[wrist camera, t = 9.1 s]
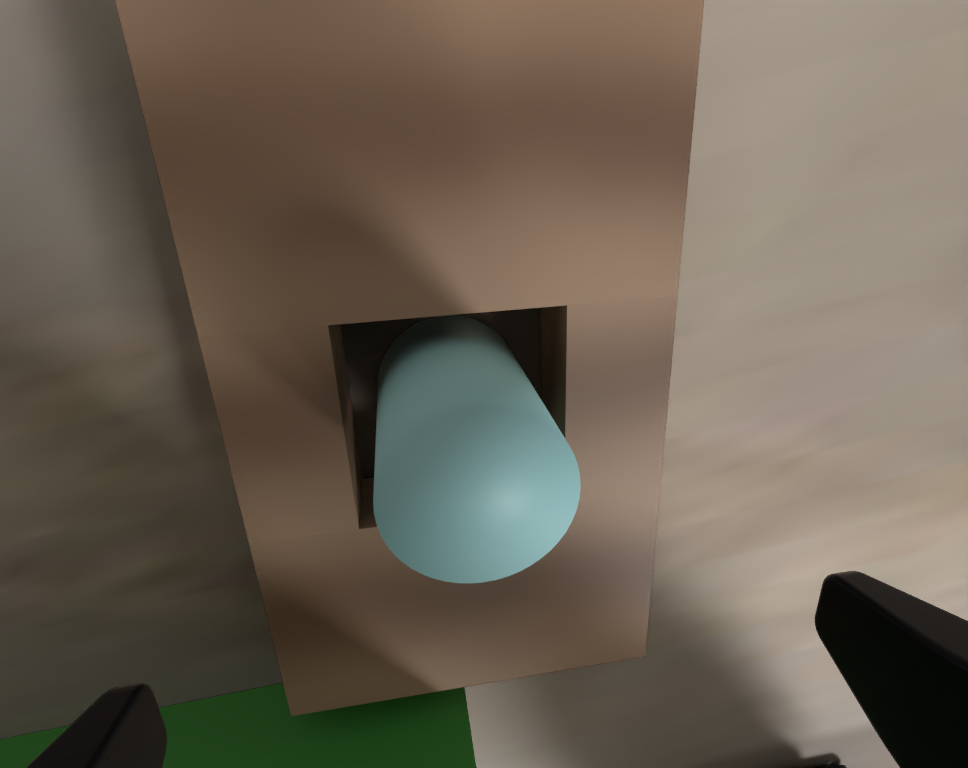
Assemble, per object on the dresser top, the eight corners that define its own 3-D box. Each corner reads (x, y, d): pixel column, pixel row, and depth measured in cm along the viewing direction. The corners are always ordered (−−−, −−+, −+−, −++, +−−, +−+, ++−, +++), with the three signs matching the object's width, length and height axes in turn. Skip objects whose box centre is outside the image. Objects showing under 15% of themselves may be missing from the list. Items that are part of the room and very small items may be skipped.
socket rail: (616, 600, 21) (645, 656, 18) (302, 648, 19) (291, 716, 17) (651, 15, 14) (705, -13, 11) (164, 22, 12) (113, -7, 10)
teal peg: (518, 436, 17) (577, 568, 12) (385, 451, 17) (385, 595, 11) (515, 310, 16) (583, 393, 10) (370, 321, 15) (361, 416, 10)
